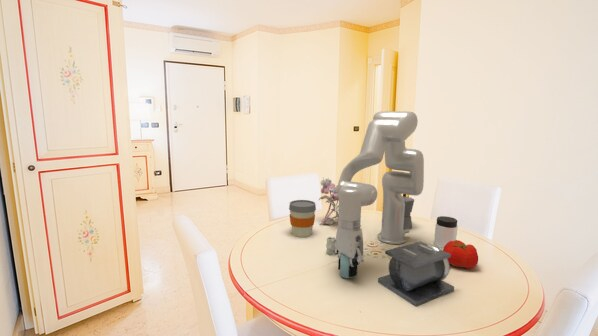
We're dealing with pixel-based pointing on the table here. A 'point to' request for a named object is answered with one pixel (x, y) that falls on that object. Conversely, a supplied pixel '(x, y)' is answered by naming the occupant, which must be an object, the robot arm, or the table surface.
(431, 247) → the motor
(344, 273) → the teal cylinder with cap
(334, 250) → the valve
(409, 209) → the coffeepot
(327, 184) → the flower
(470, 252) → the tomato
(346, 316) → the table surface
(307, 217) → the reusable coffee cup
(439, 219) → the jar
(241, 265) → the table surface
